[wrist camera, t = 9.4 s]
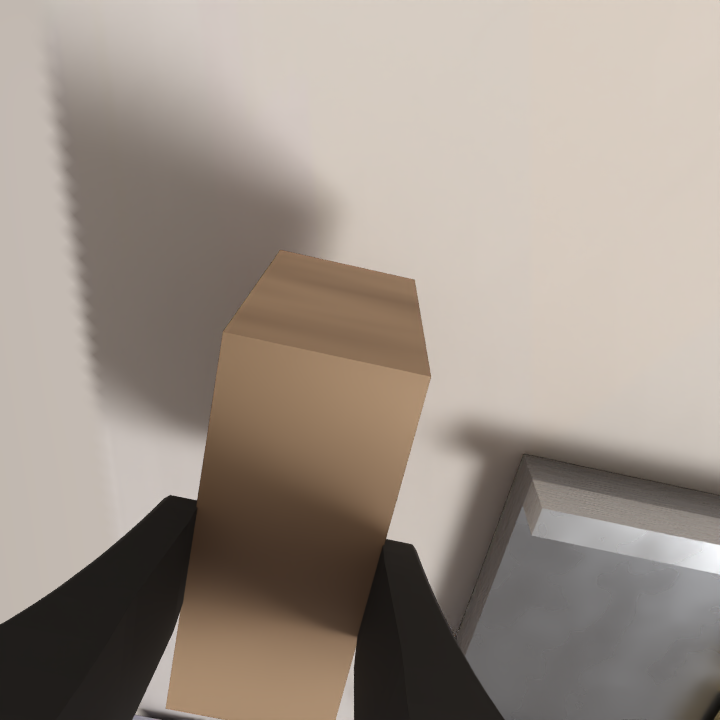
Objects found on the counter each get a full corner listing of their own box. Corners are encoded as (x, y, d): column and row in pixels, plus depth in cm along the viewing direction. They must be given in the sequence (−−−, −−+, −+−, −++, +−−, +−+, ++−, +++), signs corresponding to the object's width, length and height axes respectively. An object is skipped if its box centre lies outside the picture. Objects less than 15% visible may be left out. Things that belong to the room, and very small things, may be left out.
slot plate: (659, 766, 28) (689, 842, 25) (425, 721, 27) (429, 793, 25) (809, 514, 23) (867, 576, 20) (524, 454, 22) (542, 508, 20)
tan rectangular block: (346, 548, 20) (330, 739, 14) (231, 524, 20) (165, 708, 14) (414, 279, 17) (430, 376, 11) (280, 249, 17) (222, 331, 11)
